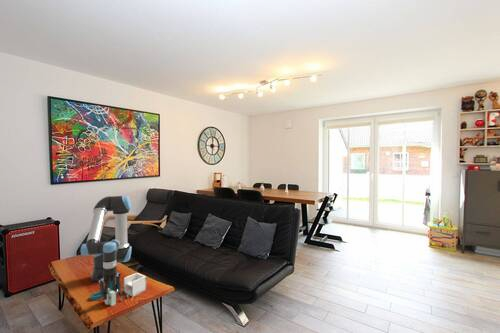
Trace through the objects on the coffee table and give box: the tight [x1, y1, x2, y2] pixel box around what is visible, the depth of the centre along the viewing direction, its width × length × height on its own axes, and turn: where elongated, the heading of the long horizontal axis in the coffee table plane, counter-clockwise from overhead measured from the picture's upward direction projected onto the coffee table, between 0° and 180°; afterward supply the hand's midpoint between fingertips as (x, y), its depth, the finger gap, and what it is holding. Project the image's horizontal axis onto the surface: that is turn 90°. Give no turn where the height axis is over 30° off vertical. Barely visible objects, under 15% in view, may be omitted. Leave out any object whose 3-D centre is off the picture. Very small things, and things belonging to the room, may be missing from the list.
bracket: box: [89, 278, 122, 302], centre depth 170 cm, size 18×7×8 cm, turn 142°
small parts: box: [115, 282, 130, 302], centre depth 166 cm, size 11×5×10 cm, turn 57°
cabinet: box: [123, 272, 147, 297], centre depth 174 cm, size 11×10×10 cm
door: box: [103, 288, 117, 307], centre depth 159 cm, size 9×4×8 cm, turn 57°
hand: (109, 302), depth 159 cm, fingers open, 3 cm apart
